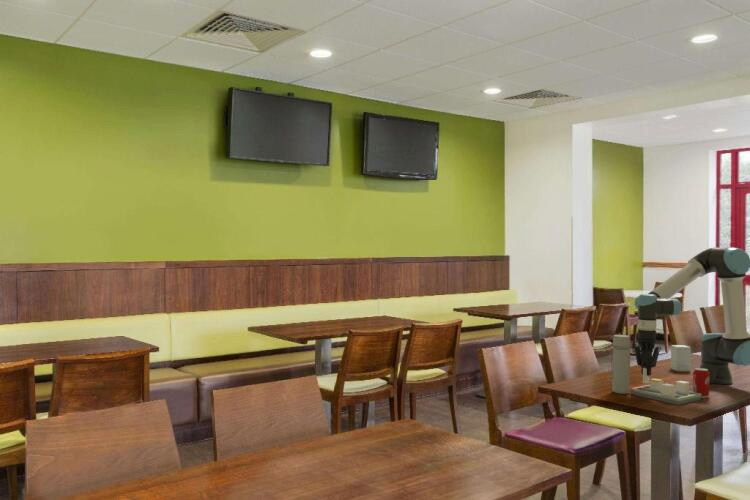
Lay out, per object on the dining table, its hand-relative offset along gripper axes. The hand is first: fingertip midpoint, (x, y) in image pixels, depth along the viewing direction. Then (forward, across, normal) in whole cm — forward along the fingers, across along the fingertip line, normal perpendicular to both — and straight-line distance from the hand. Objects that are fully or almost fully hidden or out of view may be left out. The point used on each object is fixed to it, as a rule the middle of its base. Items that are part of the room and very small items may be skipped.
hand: (646, 382), depth 287 cm
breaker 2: (+3, +14, +5) cm, 15 cm away
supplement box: (+5, -21, +62) cm, 66 cm away
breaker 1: (+3, +14, -5) cm, 15 cm away
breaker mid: (+3, +5, 0) cm, 6 cm away
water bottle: (+5, -7, -10) cm, 13 cm away
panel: (+4, +9, 0) cm, 10 cm away
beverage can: (+5, +17, +14) cm, 22 cm away
